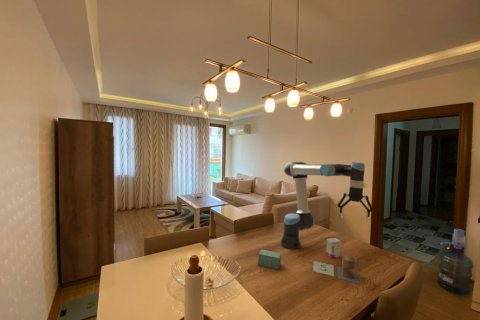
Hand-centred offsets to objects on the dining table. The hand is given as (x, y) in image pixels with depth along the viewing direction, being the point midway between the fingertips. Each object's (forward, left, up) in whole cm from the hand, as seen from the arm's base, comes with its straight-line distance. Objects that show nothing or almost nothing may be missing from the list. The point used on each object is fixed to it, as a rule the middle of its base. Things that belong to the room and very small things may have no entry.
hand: (353, 220), depth 135 cm
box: (-48, -21, -31) cm, 61 cm away
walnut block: (-2, -11, -30) cm, 32 cm away
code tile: (-16, -10, -31) cm, 36 cm away
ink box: (-10, +10, -31) cm, 34 cm away
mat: (-2, -11, -31) cm, 33 cm away
